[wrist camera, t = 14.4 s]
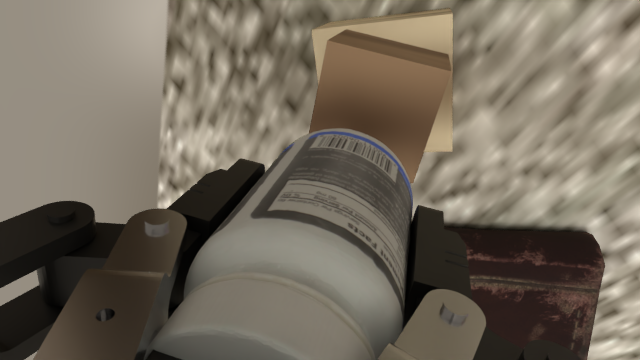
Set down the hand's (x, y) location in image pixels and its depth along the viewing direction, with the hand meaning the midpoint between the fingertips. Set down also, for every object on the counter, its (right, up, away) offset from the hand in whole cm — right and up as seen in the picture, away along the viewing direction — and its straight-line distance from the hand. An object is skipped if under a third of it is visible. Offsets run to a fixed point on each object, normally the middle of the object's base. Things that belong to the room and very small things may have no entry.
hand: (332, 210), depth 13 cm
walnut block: (+3, +6, +13) cm, 15 cm away
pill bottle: (0, +1, +1) cm, 2 cm away
